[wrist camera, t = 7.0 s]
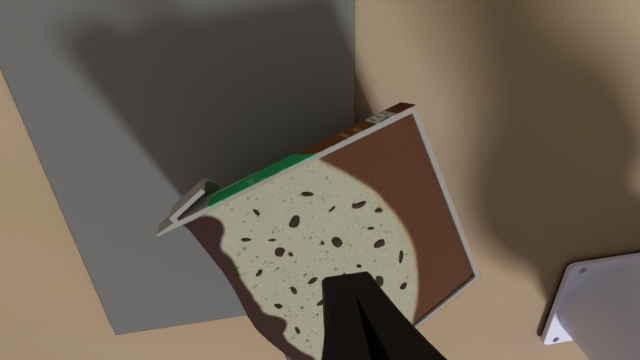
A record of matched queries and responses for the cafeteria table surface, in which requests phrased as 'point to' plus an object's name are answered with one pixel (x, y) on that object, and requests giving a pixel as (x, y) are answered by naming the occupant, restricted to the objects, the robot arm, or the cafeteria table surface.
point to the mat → (169, 125)
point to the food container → (335, 229)
